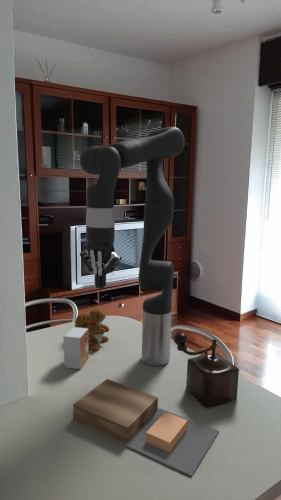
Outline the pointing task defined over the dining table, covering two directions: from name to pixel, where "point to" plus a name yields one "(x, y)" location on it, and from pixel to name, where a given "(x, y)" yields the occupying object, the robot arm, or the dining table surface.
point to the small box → (76, 348)
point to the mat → (184, 452)
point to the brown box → (115, 409)
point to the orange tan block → (166, 431)
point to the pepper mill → (209, 375)
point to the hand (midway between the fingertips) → (100, 287)
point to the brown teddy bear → (93, 327)
